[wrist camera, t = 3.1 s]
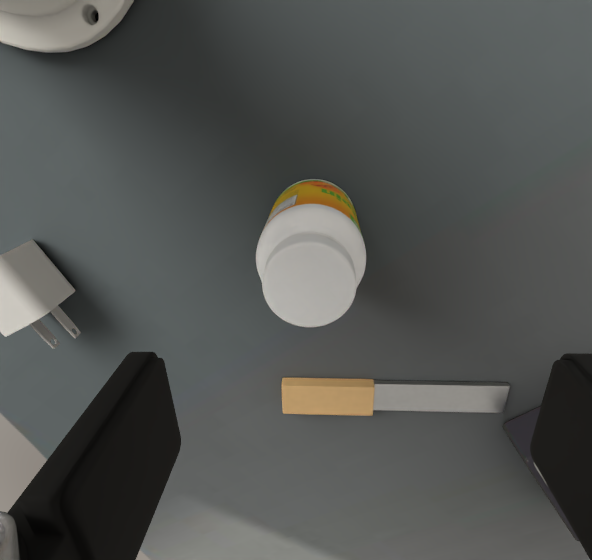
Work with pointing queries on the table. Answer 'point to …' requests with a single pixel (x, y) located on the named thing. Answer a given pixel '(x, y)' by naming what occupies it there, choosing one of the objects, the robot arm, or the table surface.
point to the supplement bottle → (311, 254)
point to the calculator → (521, 438)
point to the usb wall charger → (32, 292)
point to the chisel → (389, 396)
